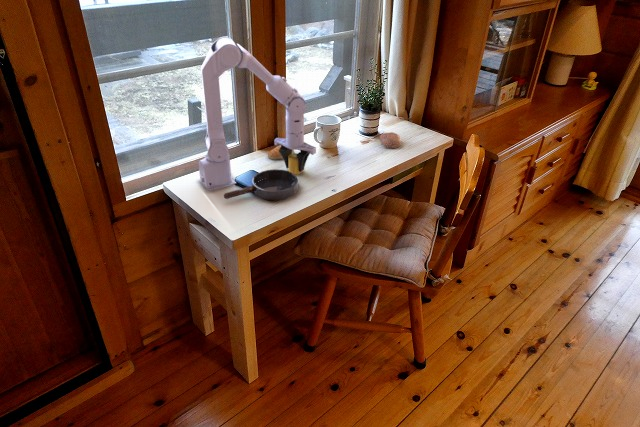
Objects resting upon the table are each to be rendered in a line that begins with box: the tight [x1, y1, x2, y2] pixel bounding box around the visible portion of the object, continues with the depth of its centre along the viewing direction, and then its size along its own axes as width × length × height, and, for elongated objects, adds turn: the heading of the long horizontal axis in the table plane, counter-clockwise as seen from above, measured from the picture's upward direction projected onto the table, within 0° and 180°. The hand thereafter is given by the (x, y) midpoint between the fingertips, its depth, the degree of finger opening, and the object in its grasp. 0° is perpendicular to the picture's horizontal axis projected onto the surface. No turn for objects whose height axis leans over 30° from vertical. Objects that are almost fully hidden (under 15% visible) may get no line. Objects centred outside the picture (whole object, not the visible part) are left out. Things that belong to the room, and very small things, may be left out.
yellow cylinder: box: [287, 152, 302, 176], centre depth 156 cm, size 4×4×7 cm
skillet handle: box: [223, 185, 256, 200], centre depth 141 cm, size 11×2×2 cm, turn 122°
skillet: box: [251, 168, 299, 202], centre depth 147 cm, size 14×14×4 cm
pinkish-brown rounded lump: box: [379, 132, 402, 149], centre depth 178 cm, size 8×6×8 cm
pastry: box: [267, 145, 296, 161], centre depth 167 cm, size 9×7×4 cm
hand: (295, 168), depth 157 cm, fingers closed on yellow cylinder, 4 cm apart
